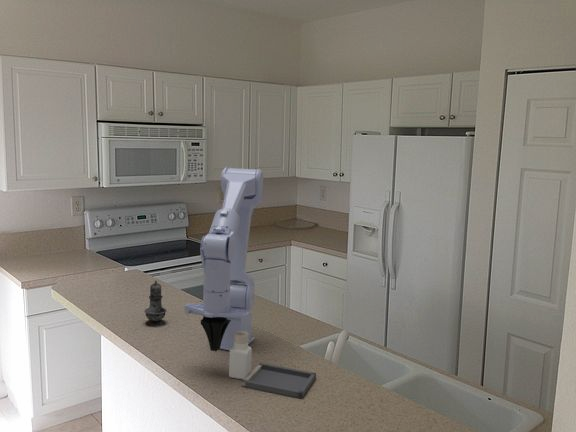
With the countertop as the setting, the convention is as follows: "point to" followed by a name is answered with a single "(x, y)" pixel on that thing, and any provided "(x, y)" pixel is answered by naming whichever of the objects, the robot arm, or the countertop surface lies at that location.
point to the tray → (279, 380)
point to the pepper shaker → (240, 356)
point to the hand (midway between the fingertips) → (215, 349)
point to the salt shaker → (155, 307)
